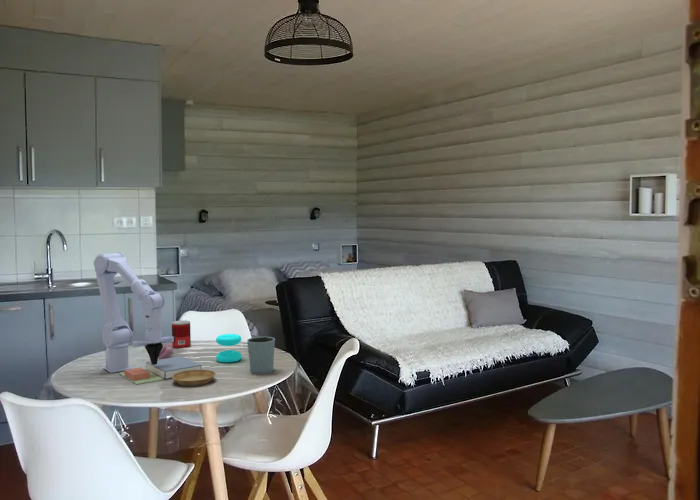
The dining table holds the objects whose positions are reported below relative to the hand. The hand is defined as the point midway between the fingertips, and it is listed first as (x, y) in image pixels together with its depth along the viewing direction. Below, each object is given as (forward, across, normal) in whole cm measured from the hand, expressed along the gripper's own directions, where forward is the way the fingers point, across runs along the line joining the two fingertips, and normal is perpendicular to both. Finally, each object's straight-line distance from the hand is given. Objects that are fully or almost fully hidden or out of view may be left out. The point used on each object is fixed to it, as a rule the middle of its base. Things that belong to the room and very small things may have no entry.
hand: (154, 364), depth 219 cm
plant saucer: (+4, +8, -18) cm, 20 cm away
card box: (+2, -6, 0) cm, 6 cm away
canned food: (+4, +28, +40) cm, 48 cm away
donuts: (+4, +32, +2) cm, 32 cm away
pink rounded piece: (+4, +13, +22) cm, 26 cm away
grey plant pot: (+4, +33, -20) cm, 39 cm away
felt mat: (+4, -5, 0) cm, 6 cm away
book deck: (+4, +8, 0) cm, 9 cm away
